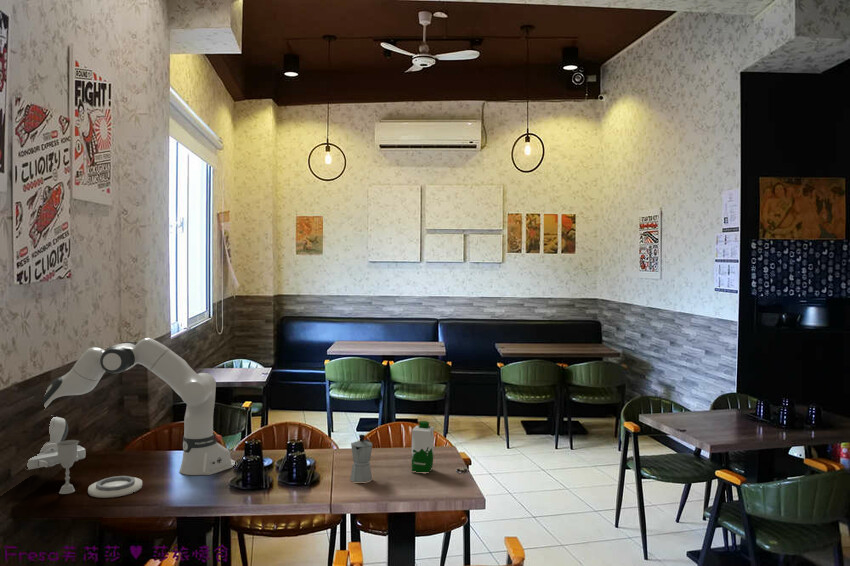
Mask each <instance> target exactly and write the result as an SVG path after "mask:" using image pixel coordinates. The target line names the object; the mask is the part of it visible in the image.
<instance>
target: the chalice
mask: <svg viewBox="0 0 850 566" xmlns="http://www.w3.org/2000/svg"><path fill="white" fill-rule="evenodd" d="M79 443H80V440H77V439H68V440H64V441H61V442H58V443H57V444H56V445H57V446H58V459H59V461H60V463H59V464H60V465H61V466H62V468H63V469H65V472H64V474H65V477H64V480H65V483H64V484H63V485H62V486H61V488H60V490H59V492H58V493H59V494H61V495H67V494H72V493H74V492H75V491H76V490H75V487H74V485H73V484H72V483H70V479H71V477H70V474H71V472H70V468H71V467H73V465H74V463H75V462H76V461H75V459H76V457H77V445H78V444H79ZM74 461H75V462H74Z"/></svg>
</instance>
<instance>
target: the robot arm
mask: <svg viewBox="0 0 850 566" xmlns="http://www.w3.org/2000/svg"><path fill="white" fill-rule="evenodd" d="M137 365H142V366H143V367H145V368H146V369H147V370H148V371H150V372H152V373H153V374H154V375H156V376H157V377H158V378H159V379H161V380H162V381H163V382H165V383H166V384H167V385H168V386H169V387H170V388H171V389H172V390H173V391H174V392H175V393H176V394H177V395H178V396H179V397H180V398H181V400H182V402H184V403H185V404H186V407H185V408H186V409H185V413H184V418H183V419H184V420H183V421H184V425H183V427H184V428H183V429H184V431H183V432H184V433H183V434H184V435H183V437H182V451H183V453H182V458H181V459H182V460H181V464H180V467H179V473H180V474H182V475H186V476H201V475H202V476H211V475H214V474H217V473H220V472H222V471H226V470H228V469H231V468H234V467H235V466H234V464H235V462H236V461H235V460H233V459H232V455H231V453H230V451H229V449H228V448H226V447H224V446H223V445H222V444H220V443H219V442H218V441H221V440H222V438H223V437H222V436H223V435H220V434H214V412H215V411H214V409H215V403H216V402H215V401H216V388H217V382H216V379H215V377H214V376H213V375H211V374H210V373H207V372H200V373H197V372H196V371H195V370H194V369H193V368H192V367H191V366H190V365H189V363H188V362H187V361H186V360H185V359H183V358H182V357H181V356H180V355H178V354H177V353H176V352H174V351H172V349H171V348H169V347H168V346H166V345H164V344H163V343H162V342H159V341H157V340H155V339H153V338H151V337H145V338H144V337H143V338H141V339H140V340H139V341H138V342H137V343H135V342H133V341H132V342H131V341H125V342H122V343H116V344H114V345H113V346H110V347H108V348H107V349H106V350H105V349H103V348H100V347H93V346H92V347H89V348H87V350H85V352H83V354H82V355H81V356H80V357H79V358H78V359H77V360H76V362H75V364H74V365H73V366H72V368H71V369H70V370H69V371H68V372H66V374H64V375H62V376H60V377H56V378H54V379H53V380H52V381H51V382H50V383H48V385H47V386H48V387H47V386H46V387H47V390H46V393H45V395H44V399H43V402H44V407H45V409H46V408H47V407H48V406H49V405H50V404H51V403H52V401H53V400H56V399H57V398H61V397H65V396H66V397H67V396H80V395H85V394H88V393H89V392H91V391H93V390H94V389H95V388H96V387H97V385H98V383H99V381H100V380H101V379H102V377H103V376H104V374H105V373H108V374H109V373H110V374H113V375H114V374H120V373H123V372H125V371H128V370H131V369H132V368H133V367H135V366H137ZM49 425H50V426H49V434H50V441H49V442H46V443H45V444H44V445H43V447H42V448H41V450H40V453H39V454H37V456H34V457H32V458H30V459H29V460H28V463H27V467H28V469H27V470H34V469H40V468H44V467H45V468H51V467H54V466H56V465H59V464H61V463H60V461H59V459H58V446H57V445H56V444H57V443H58V442H61V441H66V439H67V436H68V433H69V425H68V423H67V420H66V419H65V418H63V417H59V416H56V417H53V418H52V419H51V421H50V424H49ZM86 453H87V452H86V448H85V447H83V446H81V445H78V444H77V457H76V459H75V461H74V463H75V462H78V461H79V460H83V459H85V458H86ZM233 466H234V467H233Z"/></svg>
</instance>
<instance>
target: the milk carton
mask: <svg viewBox="0 0 850 566" xmlns="http://www.w3.org/2000/svg"><path fill="white" fill-rule="evenodd" d="M418 424H419V425H415V426H414V427H413V428H412V430H411V472H412V471H416V472H429V471H430V470H431V468H432V469H433V465H434V444H435V443H434V440H435V439H434V438H435V436H434V433H435V432H434V429H435V427H434V426H431V425H430V422H429V421H428V420H426V421H425V420H420V421H419V423H418ZM431 471H432V470H431ZM431 471H430V472H431Z"/></svg>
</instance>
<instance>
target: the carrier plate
mask: <svg viewBox="0 0 850 566" xmlns="http://www.w3.org/2000/svg"><path fill="white" fill-rule="evenodd" d="M142 488H143V480H142V478H141V479H140V478H138V477H134V476H129V475H118V476H110V477H106V478H104V479H99V480H98V481H95V482H94V483H92V484H90V485H89V486H88V488H87V493H88V495H89V496H91V497H94V498H102V499H104V498H106V499H107V498H109V499H110V498H117V497H121V496H127V495H131V494H134V493H136V492H138V491H140V490H141V489H142ZM133 492H134V493H133Z"/></svg>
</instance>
